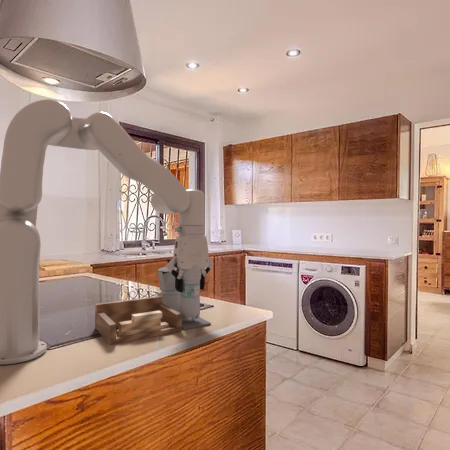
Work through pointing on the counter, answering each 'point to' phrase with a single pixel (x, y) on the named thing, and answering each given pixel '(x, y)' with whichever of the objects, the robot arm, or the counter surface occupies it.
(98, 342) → the counter surface
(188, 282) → the bottle
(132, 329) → the offcut stack
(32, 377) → the counter surface
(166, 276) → the coffee maker
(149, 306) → the rack
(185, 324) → the mat
